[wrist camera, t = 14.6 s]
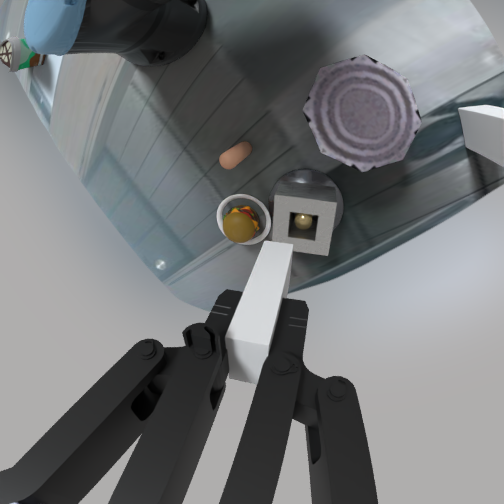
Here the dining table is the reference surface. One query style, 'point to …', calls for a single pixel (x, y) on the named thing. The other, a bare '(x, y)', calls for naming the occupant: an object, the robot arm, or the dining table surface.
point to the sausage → (235, 155)
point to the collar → (307, 202)
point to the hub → (311, 178)
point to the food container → (19, 54)
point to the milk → (484, 131)
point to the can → (362, 113)
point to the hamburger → (242, 221)
